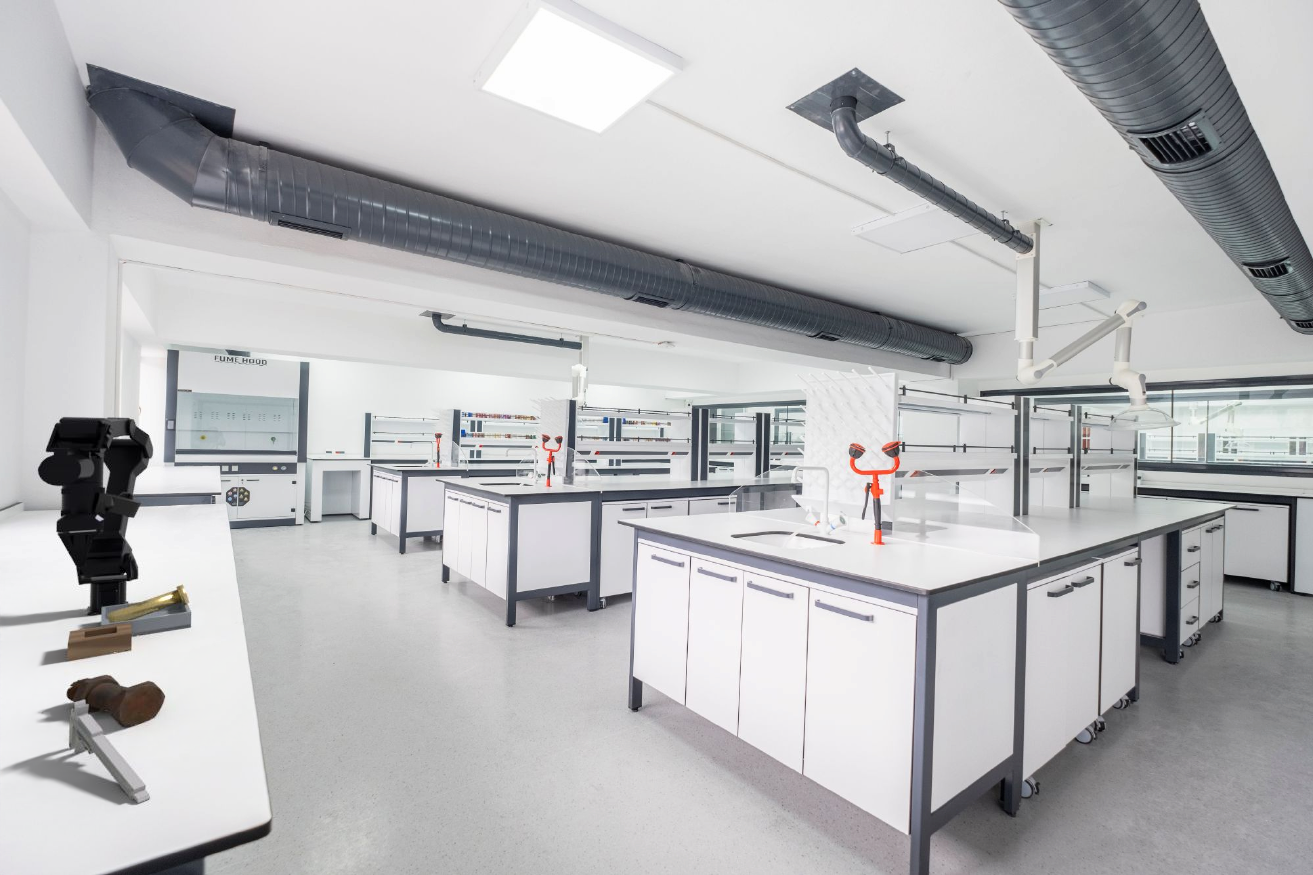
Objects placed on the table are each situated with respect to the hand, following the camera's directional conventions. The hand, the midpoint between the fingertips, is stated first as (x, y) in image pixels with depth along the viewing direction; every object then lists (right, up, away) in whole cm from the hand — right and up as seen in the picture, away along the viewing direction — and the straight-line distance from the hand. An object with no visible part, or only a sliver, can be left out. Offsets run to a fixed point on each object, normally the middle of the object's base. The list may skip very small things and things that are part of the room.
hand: (81, 562), depth 114 cm
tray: (+9, -13, +4) cm, 16 cm away
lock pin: (+5, -11, 0) cm, 12 cm away
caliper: (+49, -14, -47) cm, 69 cm away
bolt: (+36, -14, -32) cm, 50 cm away
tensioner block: (+13, -13, -10) cm, 21 cm away
